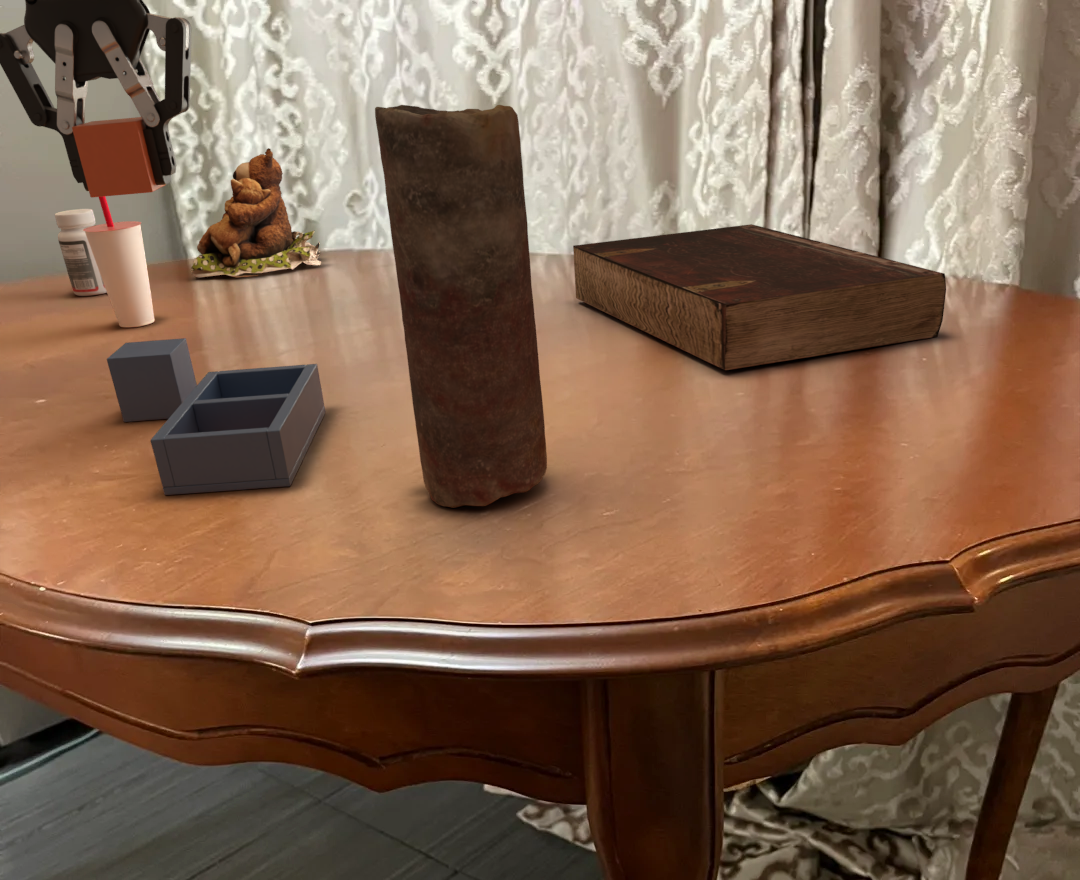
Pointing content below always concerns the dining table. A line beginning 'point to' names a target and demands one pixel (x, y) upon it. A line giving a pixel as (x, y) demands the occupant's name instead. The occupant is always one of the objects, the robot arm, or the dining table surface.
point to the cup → (122, 268)
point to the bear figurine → (254, 227)
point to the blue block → (151, 378)
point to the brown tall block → (465, 298)
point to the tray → (240, 430)
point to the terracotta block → (115, 157)
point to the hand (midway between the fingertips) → (129, 185)
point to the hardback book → (758, 294)
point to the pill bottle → (79, 252)
